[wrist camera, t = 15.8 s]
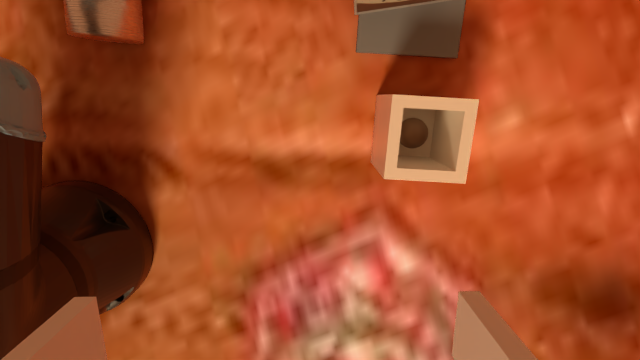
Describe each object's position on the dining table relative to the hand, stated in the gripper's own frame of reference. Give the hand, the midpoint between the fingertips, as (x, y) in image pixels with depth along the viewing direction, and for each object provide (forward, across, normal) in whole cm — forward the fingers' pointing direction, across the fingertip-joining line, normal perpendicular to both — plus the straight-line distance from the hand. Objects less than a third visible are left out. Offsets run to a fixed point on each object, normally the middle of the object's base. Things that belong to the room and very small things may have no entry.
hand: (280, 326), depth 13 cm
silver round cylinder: (+26, -17, +17) cm, 36 cm away
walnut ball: (+23, +11, +4) cm, 26 cm away
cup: (+25, +11, +4) cm, 28 cm away
